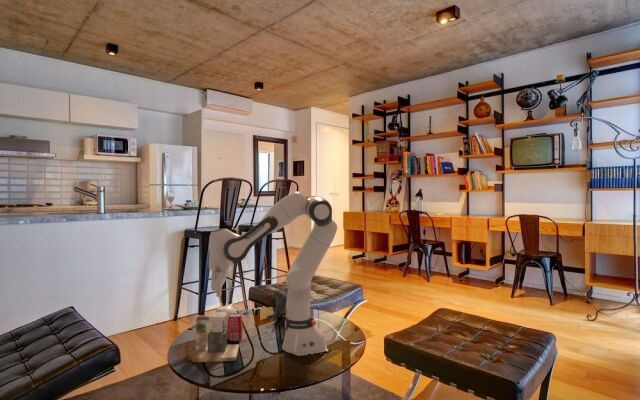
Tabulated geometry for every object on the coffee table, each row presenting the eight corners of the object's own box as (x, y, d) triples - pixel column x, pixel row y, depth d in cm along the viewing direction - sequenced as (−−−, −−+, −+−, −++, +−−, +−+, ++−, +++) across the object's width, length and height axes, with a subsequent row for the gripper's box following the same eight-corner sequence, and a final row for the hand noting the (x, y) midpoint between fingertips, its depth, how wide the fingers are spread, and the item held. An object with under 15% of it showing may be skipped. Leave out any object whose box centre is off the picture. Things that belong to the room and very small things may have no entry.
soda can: (237, 335, 183) (237, 311, 183) (245, 339, 178) (245, 315, 178) (224, 339, 178) (225, 314, 178) (232, 343, 173) (232, 318, 173)
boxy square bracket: (226, 332, 167) (227, 311, 167) (224, 338, 160) (225, 316, 160) (199, 333, 165) (200, 312, 165) (196, 339, 158) (197, 317, 158)
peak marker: (201, 328, 160) (201, 325, 160) (201, 328, 159) (201, 326, 159) (197, 328, 159) (197, 326, 159) (197, 328, 159) (197, 326, 159)
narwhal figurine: (297, 319, 210) (298, 288, 210) (272, 323, 202) (273, 291, 202) (286, 312, 222) (287, 283, 222) (262, 316, 214) (263, 285, 214)
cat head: (224, 336, 182) (224, 312, 182) (206, 331, 189) (206, 307, 189) (245, 327, 194) (245, 304, 194) (227, 323, 201) (228, 300, 201)
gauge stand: (239, 347, 169) (239, 310, 169) (235, 360, 155) (236, 320, 155) (198, 348, 167) (199, 311, 167) (191, 362, 153) (192, 321, 153)
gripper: (223, 269, 153) (222, 302, 153) (229, 261, 173) (229, 290, 173) (207, 269, 152) (207, 302, 152) (215, 261, 172) (215, 290, 172)
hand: (218, 295), depth 163 cm, fingers closed
